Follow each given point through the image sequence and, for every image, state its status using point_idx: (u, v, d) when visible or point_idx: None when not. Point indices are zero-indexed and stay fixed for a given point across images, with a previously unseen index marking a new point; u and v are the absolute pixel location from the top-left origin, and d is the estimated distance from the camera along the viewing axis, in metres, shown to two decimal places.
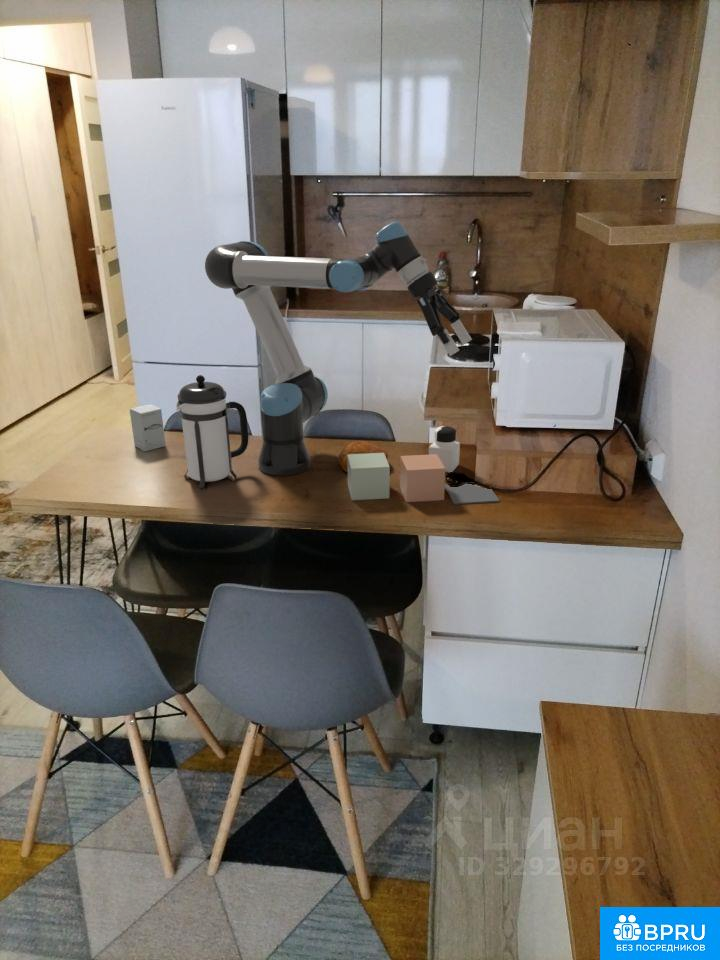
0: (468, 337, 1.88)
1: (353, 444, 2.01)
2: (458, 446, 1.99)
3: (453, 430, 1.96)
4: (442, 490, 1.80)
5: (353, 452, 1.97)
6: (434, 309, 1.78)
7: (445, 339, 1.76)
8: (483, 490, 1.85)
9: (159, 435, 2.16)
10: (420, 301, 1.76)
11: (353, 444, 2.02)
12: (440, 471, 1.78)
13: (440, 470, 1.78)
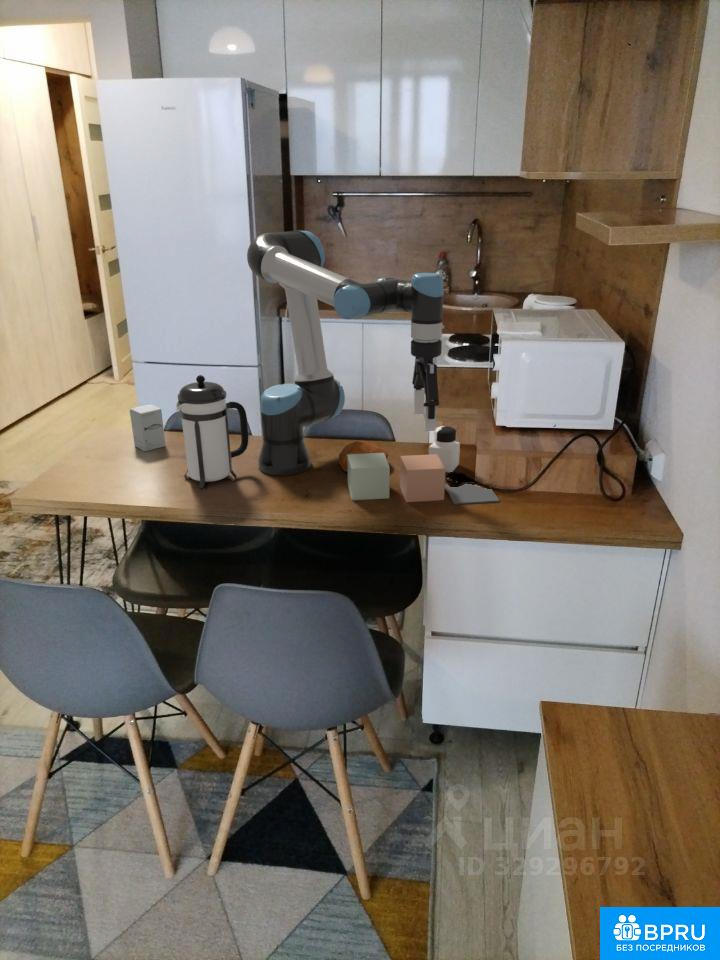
0: (423, 410, 1.83)
1: (353, 444, 2.01)
2: (458, 446, 1.99)
3: (453, 430, 1.96)
4: (442, 490, 1.80)
5: (353, 452, 1.97)
6: None
7: (433, 415, 1.68)
8: (483, 490, 1.85)
9: (159, 435, 2.16)
10: (430, 368, 1.65)
11: (353, 443, 2.02)
12: (440, 471, 1.78)
13: (440, 470, 1.78)
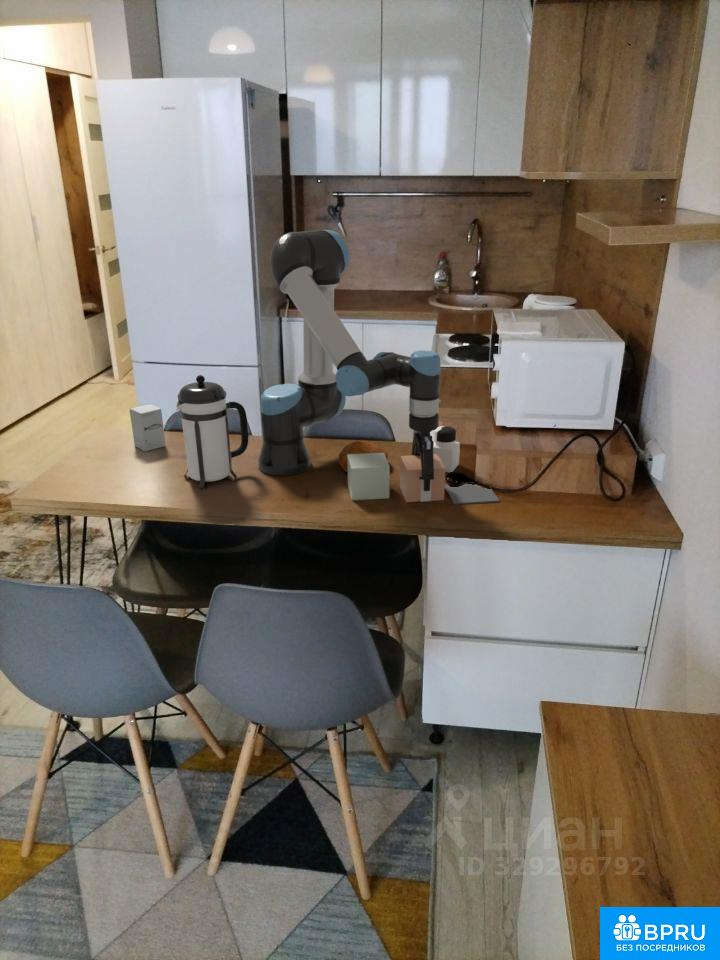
0: None
1: (353, 444, 2.02)
2: (458, 446, 1.99)
3: (453, 430, 1.96)
4: (442, 490, 1.80)
5: (353, 452, 1.97)
6: None
7: (428, 488, 1.77)
8: (483, 490, 1.85)
9: (159, 435, 2.16)
10: (427, 444, 1.72)
11: (353, 443, 2.02)
12: (440, 471, 1.78)
13: (440, 470, 1.78)
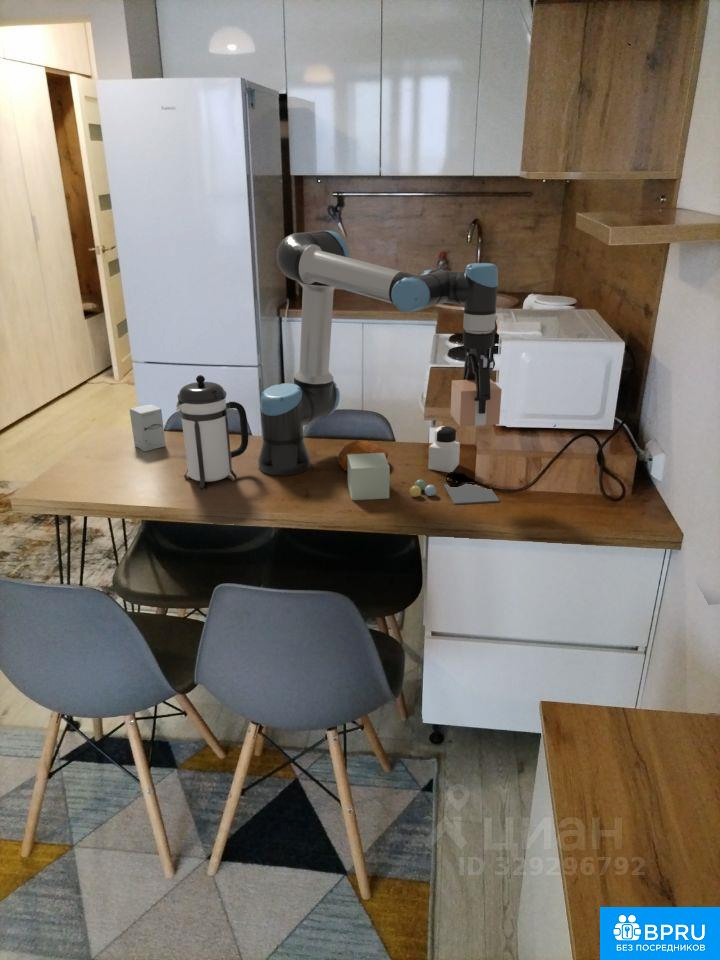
0: None
1: (353, 443, 2.02)
2: (458, 446, 1.99)
3: (453, 430, 1.96)
4: (497, 413, 1.71)
5: (353, 451, 1.97)
6: None
7: (483, 410, 1.68)
8: (483, 490, 1.85)
9: (159, 435, 2.16)
10: (483, 362, 1.63)
11: (353, 443, 2.02)
12: (496, 392, 1.69)
13: (496, 391, 1.69)
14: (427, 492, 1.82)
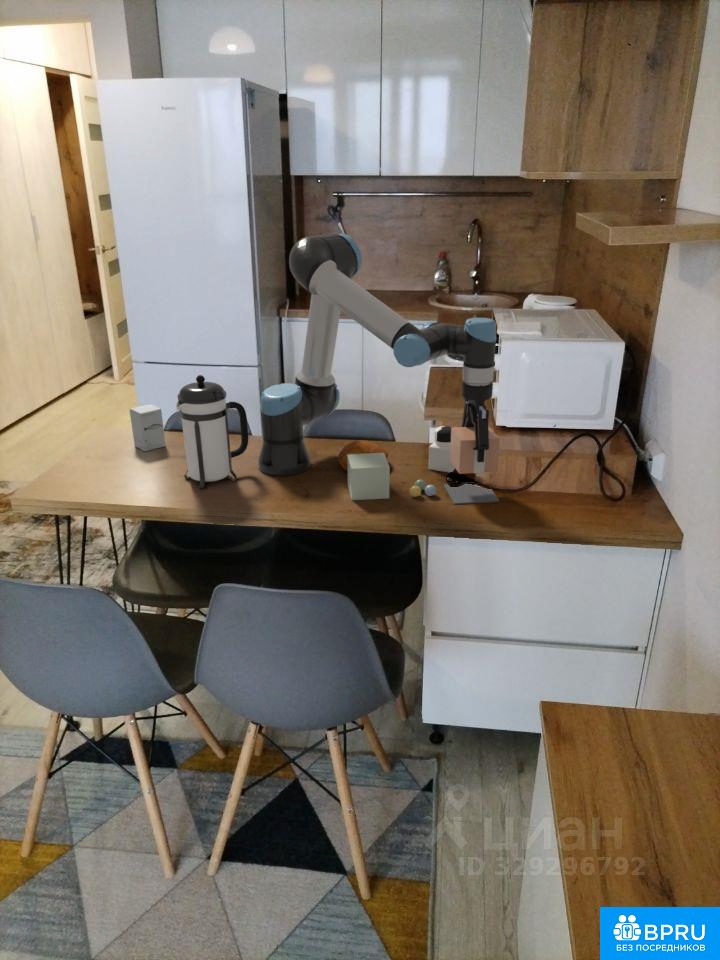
0: None
1: (353, 443, 2.02)
2: None
3: None
4: (496, 461, 1.76)
5: (353, 451, 1.98)
6: None
7: (482, 458, 1.73)
8: (483, 490, 1.85)
9: (159, 435, 2.16)
10: (482, 413, 1.69)
11: (353, 443, 2.02)
12: (494, 441, 1.74)
13: (494, 440, 1.74)
14: (427, 492, 1.82)
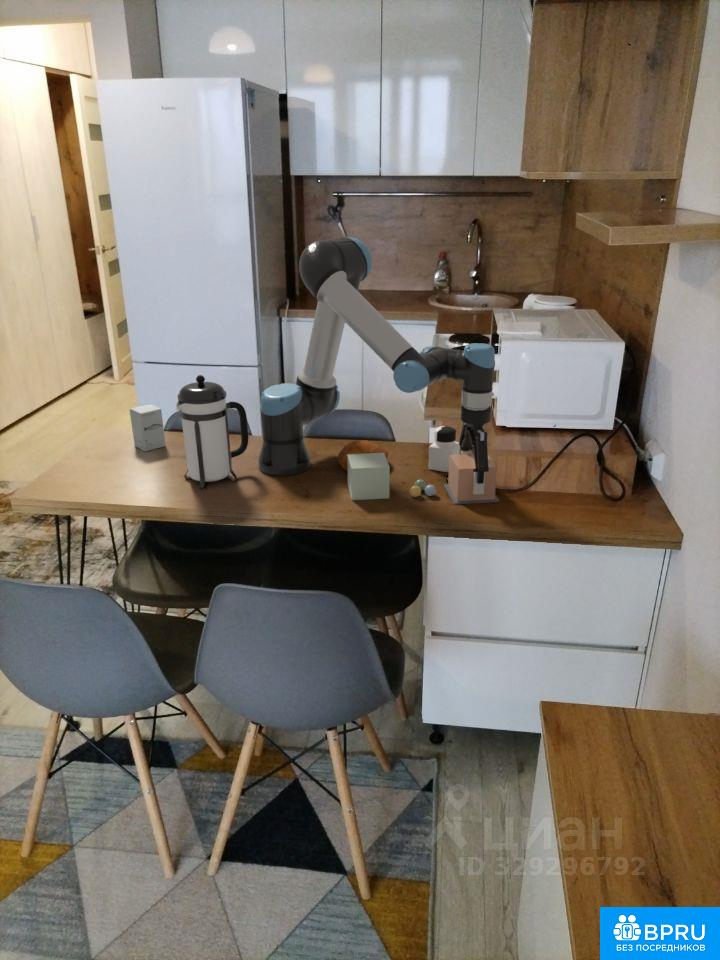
0: None
1: (353, 443, 2.02)
2: (458, 446, 1.99)
3: (453, 430, 1.96)
4: (493, 489, 1.79)
5: (353, 451, 1.98)
6: None
7: (482, 480, 1.74)
8: None
9: (159, 435, 2.16)
10: (480, 435, 1.71)
11: (353, 443, 2.02)
12: (492, 470, 1.77)
13: (492, 469, 1.77)
14: (427, 492, 1.82)
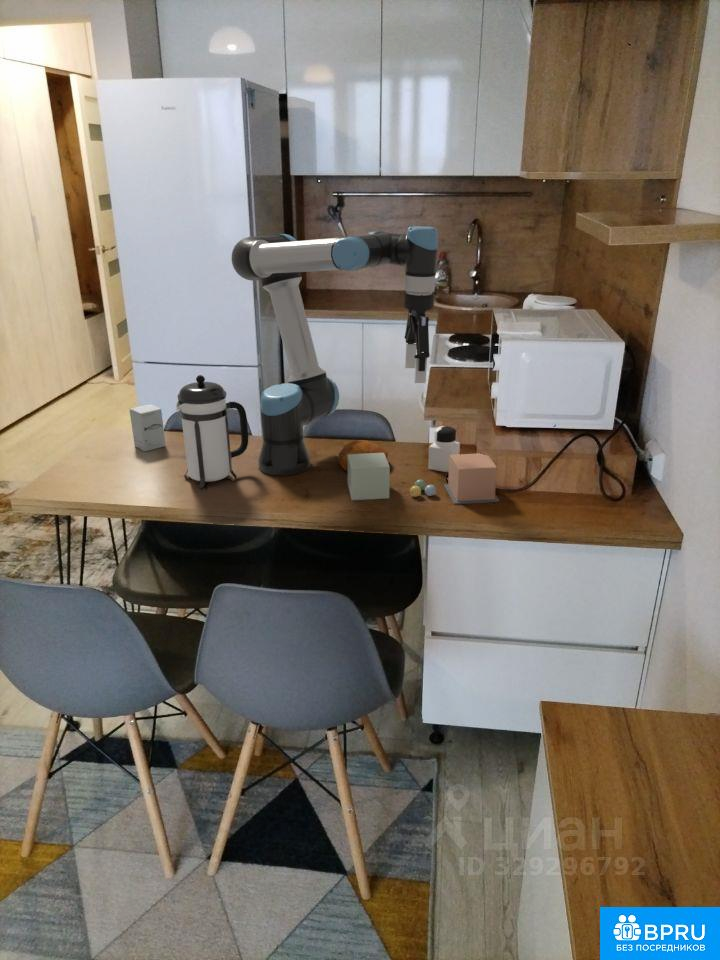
0: (414, 365, 1.87)
1: (353, 443, 2.02)
2: (458, 446, 1.99)
3: (453, 430, 1.96)
4: (493, 489, 1.79)
5: (353, 451, 1.98)
6: None
7: (423, 367, 1.72)
8: None
9: (159, 435, 2.16)
10: (422, 320, 1.69)
11: (353, 443, 2.02)
12: (492, 470, 1.77)
13: (492, 469, 1.77)
14: (427, 492, 1.82)
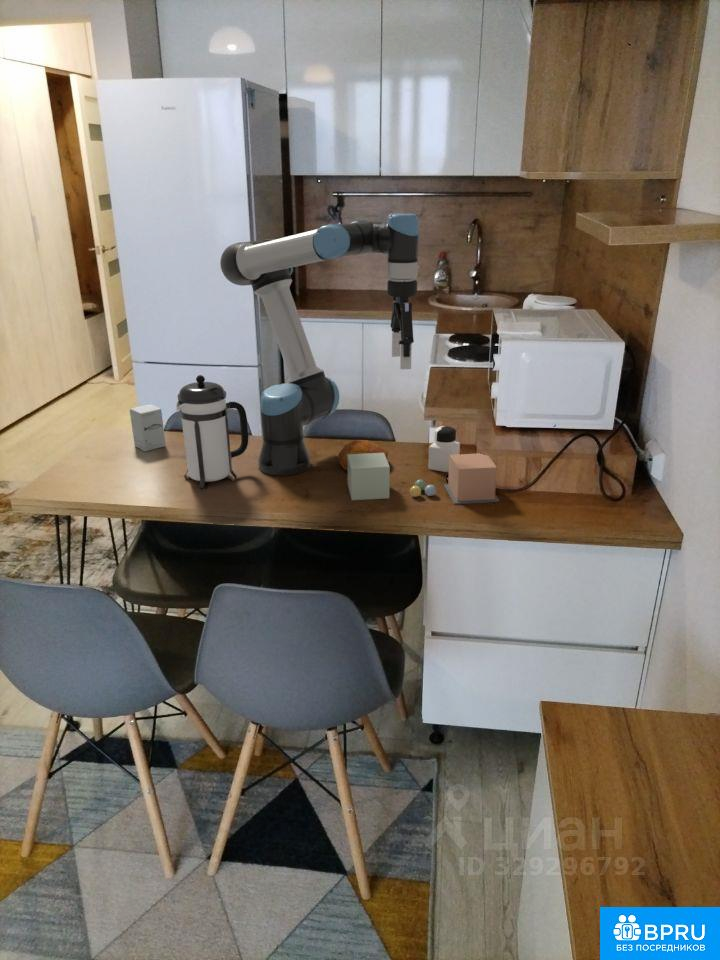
0: None
1: (353, 443, 2.02)
2: (458, 446, 1.99)
3: (453, 430, 1.96)
4: (493, 489, 1.79)
5: (353, 451, 1.98)
6: None
7: (408, 353, 1.73)
8: None
9: (159, 435, 2.16)
10: (405, 306, 1.70)
11: (353, 442, 2.03)
12: (492, 470, 1.77)
13: (492, 469, 1.77)
14: (427, 492, 1.82)
